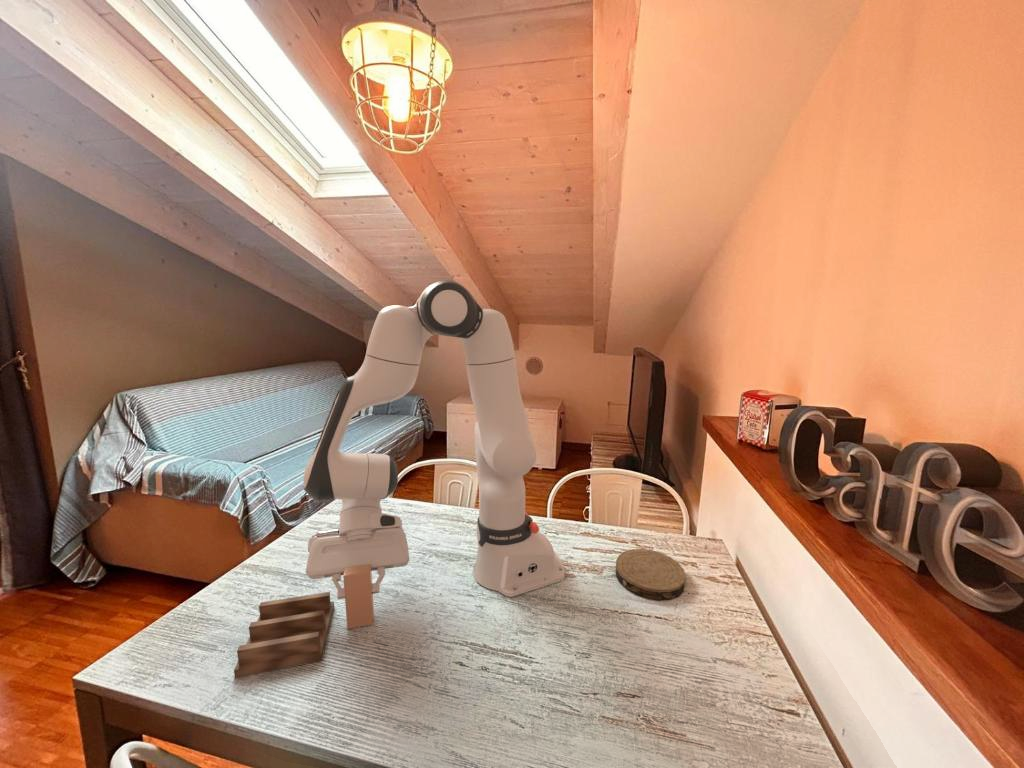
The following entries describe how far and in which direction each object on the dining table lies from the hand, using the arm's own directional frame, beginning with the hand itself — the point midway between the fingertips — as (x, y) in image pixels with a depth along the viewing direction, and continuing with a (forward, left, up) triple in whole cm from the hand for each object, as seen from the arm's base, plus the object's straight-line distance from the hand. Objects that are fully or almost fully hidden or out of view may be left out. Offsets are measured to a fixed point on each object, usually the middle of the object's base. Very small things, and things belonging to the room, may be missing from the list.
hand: (358, 596), depth 82 cm
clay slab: (0, -1, -7) cm, 7 cm away
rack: (+13, 0, -7) cm, 15 cm away
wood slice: (-66, +1, -7) cm, 66 cm away
